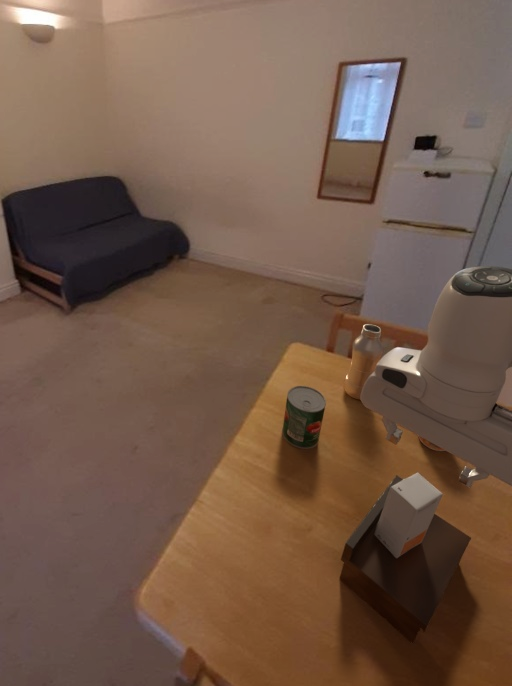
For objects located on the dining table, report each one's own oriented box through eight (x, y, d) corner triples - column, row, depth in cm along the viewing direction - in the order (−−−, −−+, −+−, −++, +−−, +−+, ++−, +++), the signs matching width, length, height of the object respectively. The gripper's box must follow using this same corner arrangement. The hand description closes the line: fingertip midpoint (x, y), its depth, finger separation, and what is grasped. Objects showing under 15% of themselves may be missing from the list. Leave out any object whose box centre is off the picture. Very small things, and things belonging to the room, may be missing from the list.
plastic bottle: (345, 381, 107) (359, 317, 98) (373, 391, 103) (390, 326, 94) (339, 396, 102) (353, 330, 93) (368, 407, 98) (386, 339, 90)
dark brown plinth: (460, 559, 67) (477, 526, 63) (416, 647, 57) (433, 614, 53) (385, 507, 76) (396, 474, 72) (336, 576, 66) (345, 542, 62)
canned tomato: (281, 418, 96) (286, 382, 91) (317, 424, 94) (324, 388, 89) (282, 445, 89) (287, 408, 84) (320, 452, 87) (328, 414, 82)
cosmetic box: (396, 560, 62) (416, 510, 57) (373, 534, 66) (389, 485, 60) (423, 543, 64) (444, 493, 59) (399, 519, 68) (416, 470, 63)
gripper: (567, 419, 47) (525, 496, 53) (383, 342, 61) (367, 410, 67) (555, 449, 43) (511, 528, 49) (364, 360, 58) (348, 430, 64)
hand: (427, 459), depth 58 cm, fingers open, 8 cm apart
